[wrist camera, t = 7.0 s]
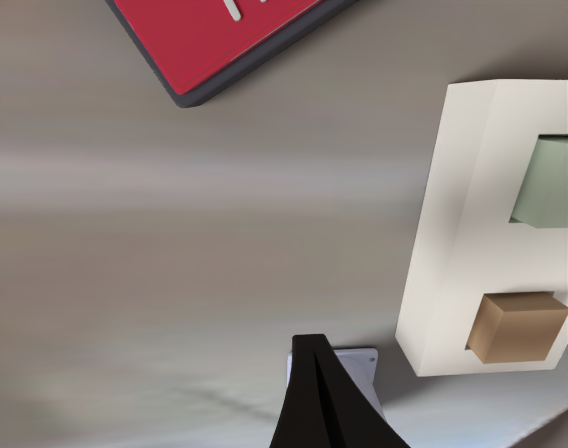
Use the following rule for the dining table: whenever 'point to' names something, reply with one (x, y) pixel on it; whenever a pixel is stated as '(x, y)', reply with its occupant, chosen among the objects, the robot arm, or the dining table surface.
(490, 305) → the walnut key
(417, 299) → the key panel
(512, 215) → the sage key
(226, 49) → the calculator
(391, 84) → the dining table surface
